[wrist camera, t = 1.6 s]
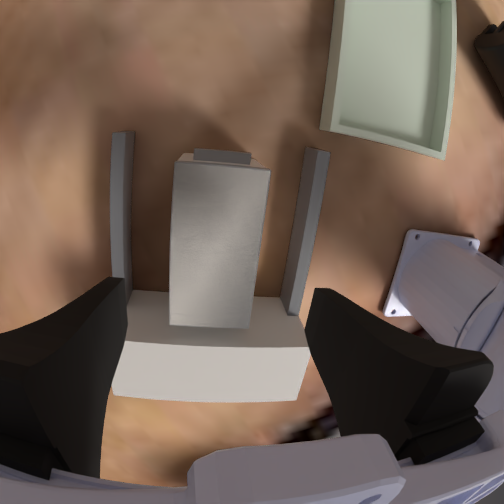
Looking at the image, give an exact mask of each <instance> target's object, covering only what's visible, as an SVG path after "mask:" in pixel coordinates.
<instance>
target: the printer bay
mask: <svg viewBox="0 0 504 504" xmlns="http://www.w3.org/2000/svg"><path fill="white" fill-rule="evenodd" d="M134 140H135V131H120V132H113V133H112V148H111V169H110V239H111V261H112V277H118V278H125V292H126V306H127V317H128V327H127V333H126V338H125V343H124V347H123V350H122V353H121V356H120V360H119V363H118V366H117V369H116V372H115V375H114V378H113V381H112V389H113V393H114V395H118V396H126V397H135V398H146V399H158V400H172V401H191V402H272V401H291V400H296V399H297V396H298V393H299V390H300V387H301V383H302V380H303V377H304V374H305V371H306V368H307V364H308V361H309V358H310V354H311V353H310V350H309V347H308V343H307V339H306V335H305V331H304V330H305V329H304V327H303V325H302V323H301V320H300V318H299V316H298V315H299V311H300V307H301V302H302V298H303V294H304V289H305V284H306V280H307V275H308V271H309V266H310V261H311V256H312V252H313V247H314V242H315V237H316V232H317V226H318V221H319V216H320V211H321V205H322V200H323V194H324V189H325V183H326V177H327V171H328V165H329V159H330V153H331V152H327V151H324V150H320V149H316V148H310V147H305V154H304V160H303V167H302V173H301V180H300V186H299V192H298V198H297V204H296V210H295V216H294V222H293V228H292V234H291V240H290V245H289V251H288V256H287V262H286V268H285V273H284V278H283V284H282V289H281V294H280V297H253V302H252V309H251V316H250V322H249V329H243V328H213V327H192V326H175V325H169V292H158V291H144V290H133V280H132V249H131V205H132V174H133V155H134Z"/></svg>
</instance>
